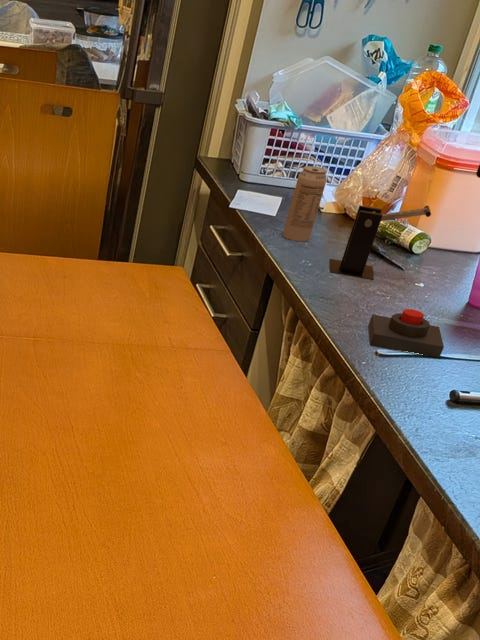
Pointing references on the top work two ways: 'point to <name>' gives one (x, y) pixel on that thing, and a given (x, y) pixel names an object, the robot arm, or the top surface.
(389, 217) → the lever
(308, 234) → the energy drink can
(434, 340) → the control block
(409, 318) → the button
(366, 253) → the bracket
